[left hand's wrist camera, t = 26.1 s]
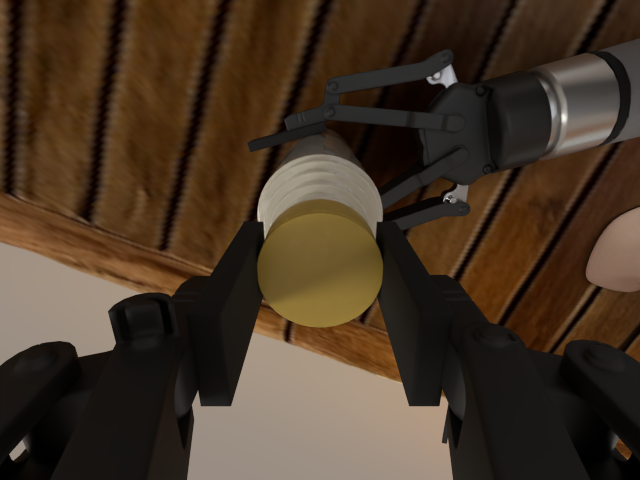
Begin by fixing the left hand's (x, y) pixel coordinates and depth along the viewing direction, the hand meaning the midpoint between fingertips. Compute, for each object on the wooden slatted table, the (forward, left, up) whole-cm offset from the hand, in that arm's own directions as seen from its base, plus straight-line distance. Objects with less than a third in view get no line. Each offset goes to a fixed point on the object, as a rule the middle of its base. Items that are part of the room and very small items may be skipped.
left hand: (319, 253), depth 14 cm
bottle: (0, 0, -24) cm, 24 cm away
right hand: (+3, -4, -18) cm, 18 cm away
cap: (0, 0, +2) cm, 2 cm away
